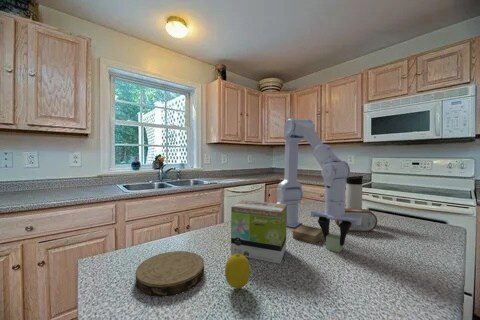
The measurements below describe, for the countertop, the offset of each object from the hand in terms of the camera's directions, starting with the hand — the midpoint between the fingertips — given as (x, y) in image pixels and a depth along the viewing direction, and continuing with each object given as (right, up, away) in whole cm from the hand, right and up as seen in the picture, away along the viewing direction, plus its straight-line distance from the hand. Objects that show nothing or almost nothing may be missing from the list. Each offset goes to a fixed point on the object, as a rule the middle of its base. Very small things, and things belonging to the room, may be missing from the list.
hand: (334, 242), depth 70 cm
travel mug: (+20, -1, +27) cm, 34 cm away
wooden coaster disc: (-47, -3, -15) cm, 49 cm away
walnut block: (-5, -2, +9) cm, 11 cm away
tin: (+15, -2, +16) cm, 22 cm away
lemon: (-30, -3, -21) cm, 37 cm away
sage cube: (0, -2, 0) cm, 2 cm away
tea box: (-24, -2, -3) cm, 24 cm away
